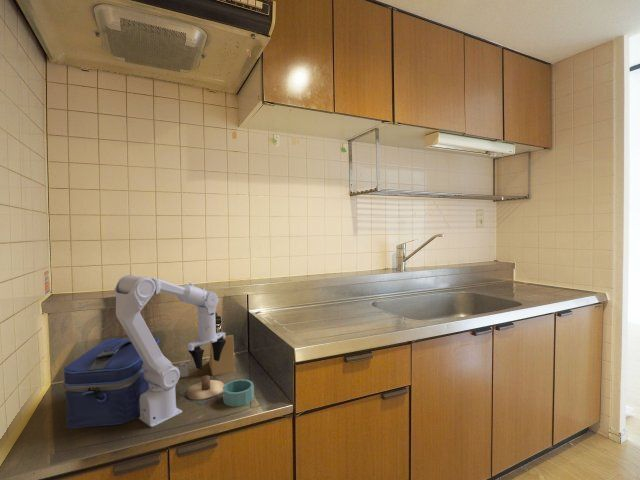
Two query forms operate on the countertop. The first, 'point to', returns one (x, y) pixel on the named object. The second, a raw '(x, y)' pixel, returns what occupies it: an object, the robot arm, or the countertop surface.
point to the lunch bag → (105, 385)
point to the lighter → (185, 368)
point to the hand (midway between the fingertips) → (208, 364)
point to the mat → (184, 393)
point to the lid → (205, 389)
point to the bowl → (238, 392)
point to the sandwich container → (223, 358)
